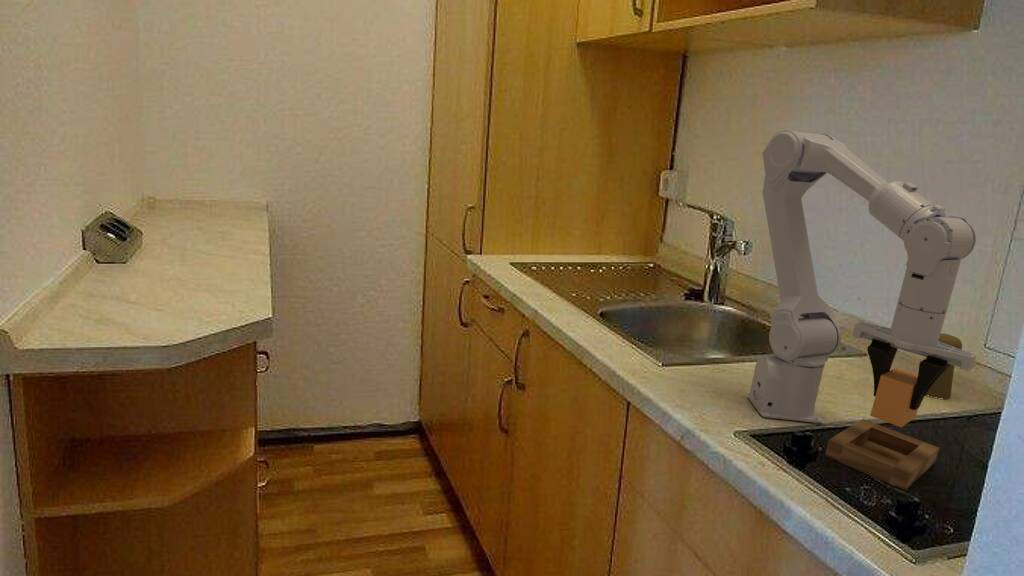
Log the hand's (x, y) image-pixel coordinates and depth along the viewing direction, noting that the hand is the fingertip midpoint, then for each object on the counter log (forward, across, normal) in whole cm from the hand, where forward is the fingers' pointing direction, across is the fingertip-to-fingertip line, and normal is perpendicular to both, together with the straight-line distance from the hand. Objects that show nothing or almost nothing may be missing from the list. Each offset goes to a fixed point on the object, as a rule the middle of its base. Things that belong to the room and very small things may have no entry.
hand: (896, 401), depth 96 cm
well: (+9, 0, 0) cm, 9 cm away
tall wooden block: (+2, 0, 0) cm, 2 cm away
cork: (+9, -4, +38) cm, 40 cm away
